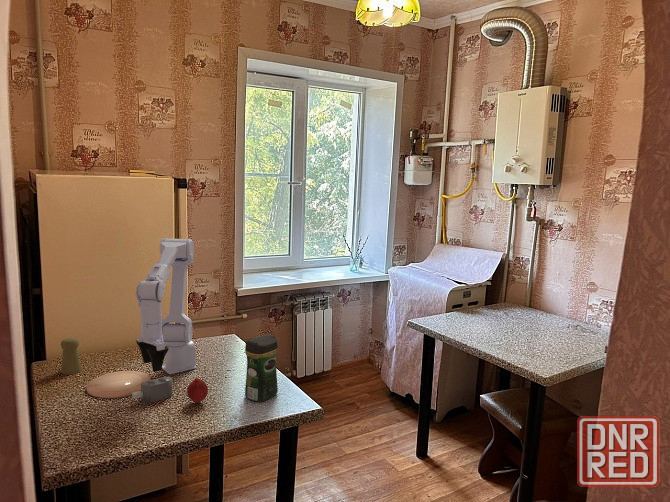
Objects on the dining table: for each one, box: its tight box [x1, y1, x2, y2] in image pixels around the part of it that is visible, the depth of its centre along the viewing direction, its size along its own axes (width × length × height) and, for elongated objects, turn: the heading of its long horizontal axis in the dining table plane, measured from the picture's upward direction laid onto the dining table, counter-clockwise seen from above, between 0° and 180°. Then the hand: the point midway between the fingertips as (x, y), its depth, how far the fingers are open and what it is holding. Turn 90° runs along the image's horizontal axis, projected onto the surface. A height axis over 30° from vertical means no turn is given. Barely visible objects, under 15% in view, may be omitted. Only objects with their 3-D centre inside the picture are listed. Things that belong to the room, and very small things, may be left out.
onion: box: [186, 375, 209, 404], centre depth 138 cm, size 6×6×8 cm
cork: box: [60, 337, 82, 376], centre depth 156 cm, size 6×6×11 cm
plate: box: [86, 370, 152, 399], centre depth 148 cm, size 18×18×1 cm
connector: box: [131, 376, 174, 404], centre depth 140 cm, size 11×4×5 cm, turn 131°
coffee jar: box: [244, 333, 279, 403], centre depth 143 cm, size 10×8×19 cm
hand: (152, 366), depth 140 cm, fingers open, 7 cm apart
